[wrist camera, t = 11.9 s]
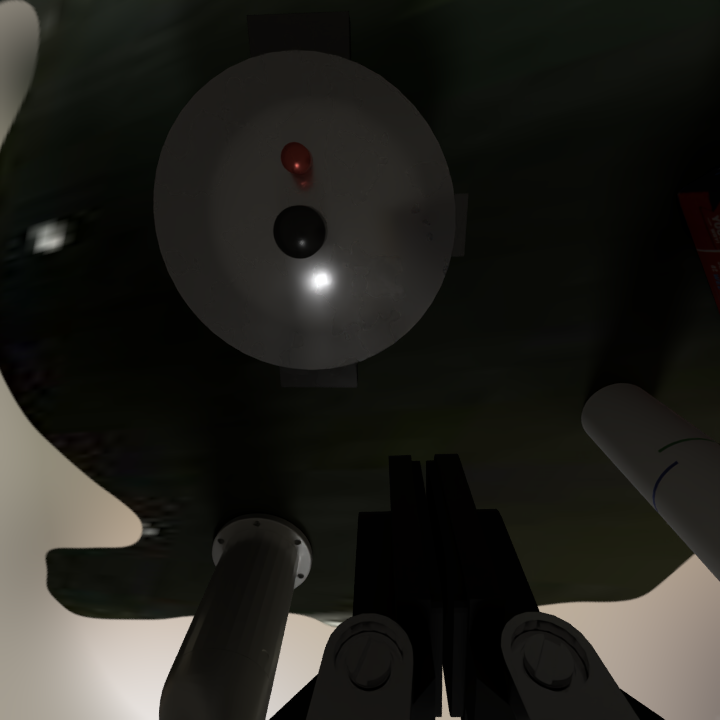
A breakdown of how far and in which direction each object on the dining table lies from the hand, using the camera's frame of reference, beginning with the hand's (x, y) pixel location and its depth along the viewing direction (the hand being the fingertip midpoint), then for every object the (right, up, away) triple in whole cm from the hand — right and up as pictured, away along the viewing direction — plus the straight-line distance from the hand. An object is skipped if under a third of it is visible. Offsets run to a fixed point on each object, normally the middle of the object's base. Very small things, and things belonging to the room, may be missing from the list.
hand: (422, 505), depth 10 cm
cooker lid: (-5, +12, +17) cm, 22 cm away
